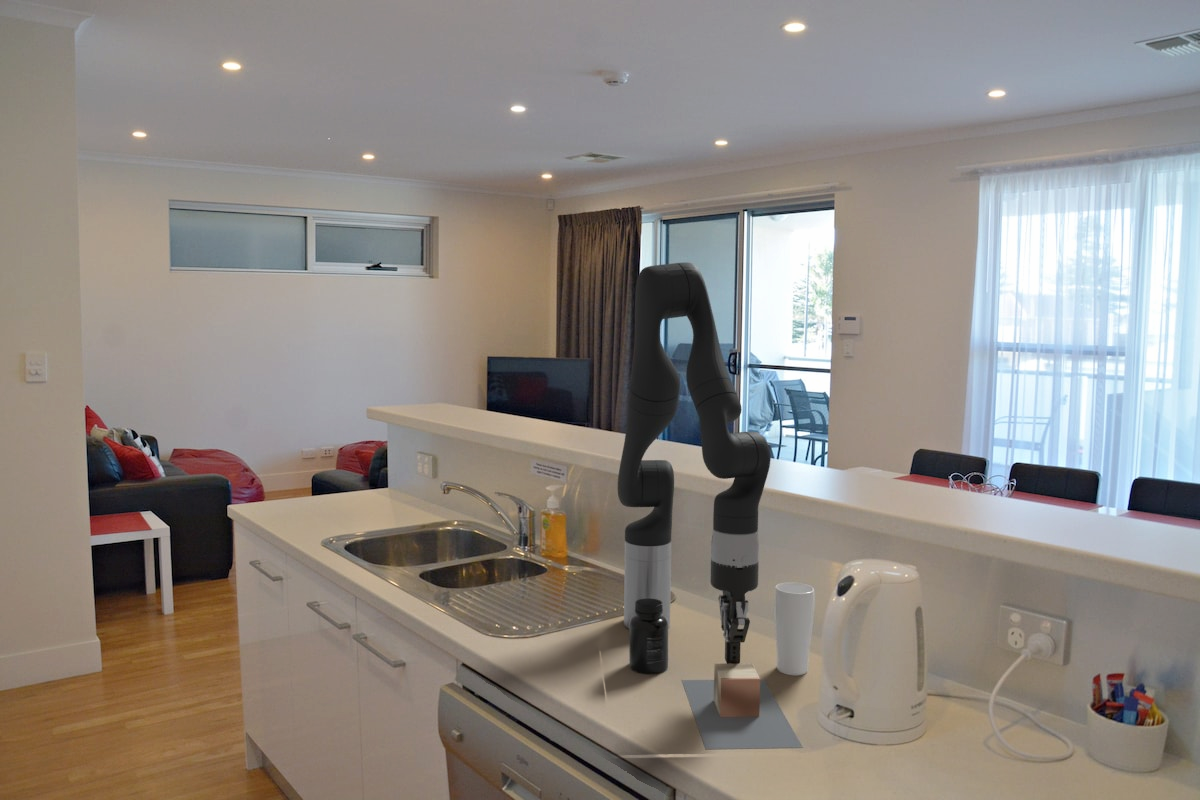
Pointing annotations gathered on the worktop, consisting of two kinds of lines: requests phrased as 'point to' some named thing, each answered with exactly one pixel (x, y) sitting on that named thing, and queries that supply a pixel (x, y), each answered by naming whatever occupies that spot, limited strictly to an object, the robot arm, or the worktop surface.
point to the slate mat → (739, 721)
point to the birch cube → (736, 690)
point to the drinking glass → (793, 626)
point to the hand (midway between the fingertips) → (732, 662)
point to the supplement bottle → (648, 638)
